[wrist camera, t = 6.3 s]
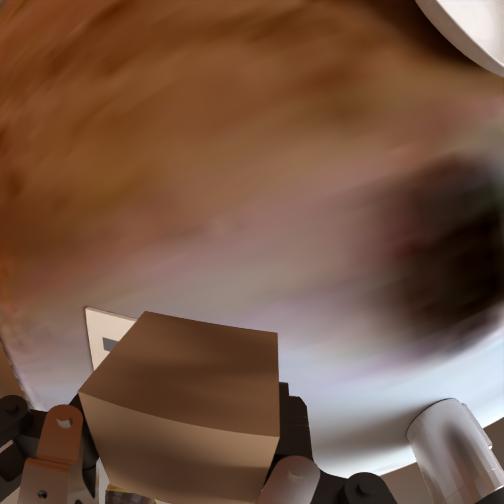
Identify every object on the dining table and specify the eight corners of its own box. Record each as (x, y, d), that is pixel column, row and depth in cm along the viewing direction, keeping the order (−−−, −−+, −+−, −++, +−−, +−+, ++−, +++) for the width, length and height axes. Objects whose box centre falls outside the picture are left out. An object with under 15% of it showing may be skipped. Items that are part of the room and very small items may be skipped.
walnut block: (277, 332, 11) (279, 436, 6) (258, 424, 12) (251, 516, 7) (145, 311, 11) (77, 391, 6) (150, 404, 12) (111, 485, 7)
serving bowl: (509, -1, 16) (534, -15, 9) (524, 119, 21) (561, 115, 14) (381, -70, 16) (395, -99, 9) (380, 42, 21) (407, 12, 15)
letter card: (217, 334, 29) (216, 337, 29) (209, 430, 33) (208, 433, 32) (88, 306, 30) (85, 308, 29) (103, 402, 33) (101, 405, 33)
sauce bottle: (158, 421, 33) (107, 544, 14) (186, 448, 34) (152, 566, 15) (126, 429, 34) (73, 534, 15) (153, 454, 36) (114, 558, 16)
